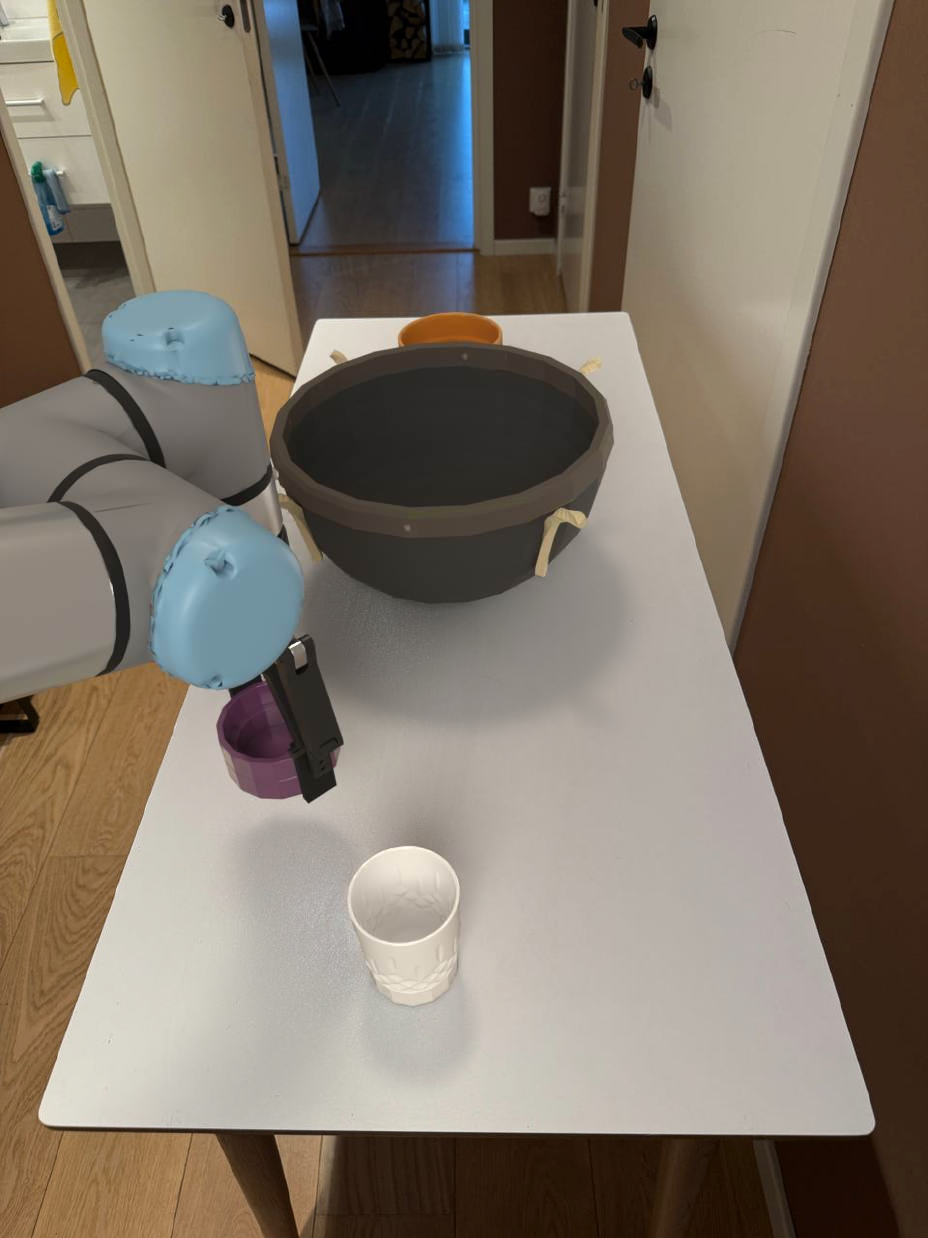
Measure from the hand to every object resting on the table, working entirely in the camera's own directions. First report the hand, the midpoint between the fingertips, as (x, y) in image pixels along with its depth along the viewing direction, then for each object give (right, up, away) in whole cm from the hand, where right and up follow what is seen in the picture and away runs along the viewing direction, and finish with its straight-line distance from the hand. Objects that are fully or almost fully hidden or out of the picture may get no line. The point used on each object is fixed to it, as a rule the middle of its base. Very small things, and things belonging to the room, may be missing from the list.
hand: (287, 756), depth 76 cm
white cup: (+11, -16, -4) cm, 19 cm away
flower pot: (+13, +40, +58) cm, 72 cm away
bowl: (+13, +17, +32) cm, 39 cm away
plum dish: (0, 0, 0) cm, 0 cm away
